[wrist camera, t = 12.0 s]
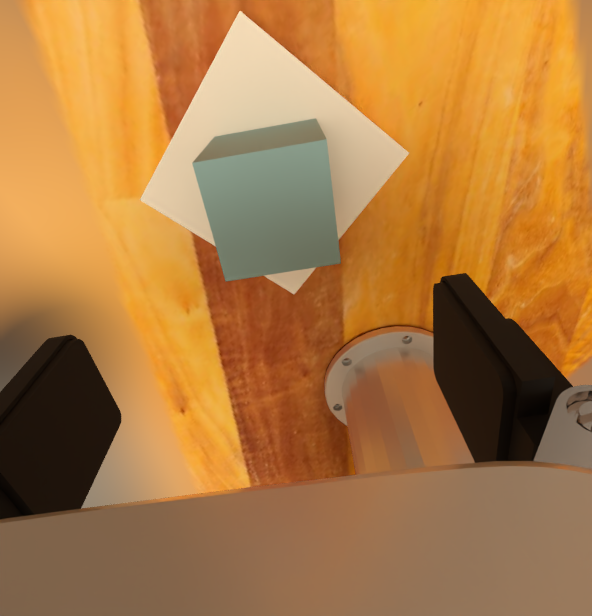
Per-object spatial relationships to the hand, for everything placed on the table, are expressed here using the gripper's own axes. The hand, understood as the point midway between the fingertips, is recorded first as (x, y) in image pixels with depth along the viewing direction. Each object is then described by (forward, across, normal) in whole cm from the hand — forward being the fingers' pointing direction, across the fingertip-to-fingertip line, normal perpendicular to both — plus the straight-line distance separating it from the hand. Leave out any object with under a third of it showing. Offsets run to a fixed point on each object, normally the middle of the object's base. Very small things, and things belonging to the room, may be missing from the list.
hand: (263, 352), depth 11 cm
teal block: (+17, 0, -1) cm, 17 cm away
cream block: (+21, 0, -1) cm, 21 cm away
